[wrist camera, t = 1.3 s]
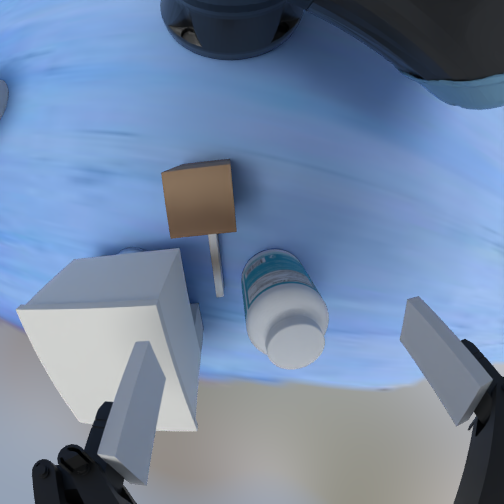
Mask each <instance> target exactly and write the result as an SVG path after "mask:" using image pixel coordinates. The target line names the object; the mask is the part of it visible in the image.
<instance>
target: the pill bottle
mask: <svg viewBox="0 0 504 504" xmlns="http://www.w3.org/2000/svg"><path fill="white" fill-rule="evenodd" d="M241 284H242V294H243V302H244V310H245V319H246V328H247V333H248V336H249V338H250V340H251V342H252V343H253V345H254V346H255V347H256V348H257V349H258V350H259V351H261V352H262V353H264V354H266V355H268V357H269V359H270V361H271V362H272V363H273V364H274V365H276V366H278V367H280V368H283V369H298V368H302V367H305V366H307V365H309V364H311V363H312V362H314V361H315V360H316V359H317V358H318V357H319V356H320V355H321V353H322V351H323V349H324V345H325V339H324V335H325V333H326V330H327V327H328V321H329V315H328V309H327V306H326V304H325V302H324V301H323V299H322V297H321V296H320V294H319V292H318V291H317V289H316V287H315V286H314V284H313V282H312V281H311V279H310V277H309V276H308V274H307V272H306V271H305V269H304V268H303V266H302V264H301V263H300V261H299V260H298V259H297V258H296V257H295V256H294V255H292V254H291V253H289V252H286V251H283V250H278V249H272V250H266V251H263V252H260V253H258V254H257V255H255V256H254V257H252V258H251V259H250V260H249V262H248V263H247V264H246V266H245V268H244V270H243V273H242V278H241Z"/></svg>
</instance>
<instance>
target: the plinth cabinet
mask: <svg viewBox="0 0 504 504" xmlns="http://www.w3.org/2000/svg"><path fill="white" fill-rule="evenodd" d="M16 311H17V313H18V316H19V318H20V320H21V323H22V325H23V327H24V329H25V331H26V334H27V336H28V338H29V340H30V342H31V344H32V345H33V348H34V350H35V352H36V353H37V355H38V357H39V359H40V361H41V363H42V365H43V366H44V368H45V370H46V371H47V373H48V375H49V377H50V379H51V380H52V382H53V383H54V385H55V387H56V388H57V390H58V391H59V393H60V394H61V396H62V398H63V399H64V401H65V402H66V404H67V405H68V407H69V408H70V410H71V411H72V412H73V414H74V415H75V417H76V418H77V419H78V421H79V422H82V423H87V424H93V422H94V420H95V417H96V414H97V411H98V409H99V408H100V406H101V405H102V404H103V403H104V402H105V401H108V402H114V399H115V396H116V393H117V390H118V387H119V385H120V382H121V379H122V376H123V373H124V371H125V368H126V365H127V363H128V360H129V357H130V355H131V352H132V350H133V347H134V345H135V342H138V341H150V344H151V346H152V348H153V351H154V353H155V355H156V358H157V360H158V362H159V364H160V366H161V369H162V371H163V373H164V375H165V377H166V381H165V386H164V391H163V396H162V400H161V405H160V410H159V416H158V421H157V426H156V430H157V431H197V428H198V424H197V421H196V418H195V417H196V404H197V392H198V381H199V370H200V359H201V349H202V339H203V325H202V320H201V314H200V309H199V304H198V303H196V304H190V302H189V297H188V292H187V287H186V281H185V276H184V271H183V265H182V259H181V253H180V248H175V249H165V250H155V251H146V252H137V253H127V254H118V255H109V256H100V257H91V258H82V259H74V260H73V261H72V262H70V263H69V264H68V265H67V266H66V267H65V268H64V269H63V270H61V271H60V272H59V273H58V274H57V275H56V276H55V277H54V278H53V279H52V280H50V281H49V282H48V283H47V284H46V285H45V286H44V287H43V288H42V289H41V290H40V291H39V292H38V293H37V294H36V295H35V296H34V297H33V298H32V299H31V300H30V301H29V302H28V303H27V304H26V305H20V306H19V307H18V308H17V309H16Z"/></svg>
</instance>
